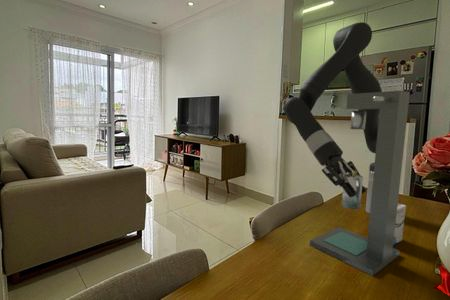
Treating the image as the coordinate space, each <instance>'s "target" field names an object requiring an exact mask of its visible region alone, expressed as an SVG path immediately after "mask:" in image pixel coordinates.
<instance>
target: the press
mask: <svg viewBox="0 0 450 300" xmlns="http://www.w3.org/2000/svg"><path fill="white" fill-rule="evenodd" d="M346 96H347V97H346V107H345V108H346V110H351V116H350V117H351V118H350V130H363V129H365V122H366V111H358V109H380V112H379V116H378V133H377V144H376V154H375V153H374V155H375V156H374V163H375V165H374V176H373V186H372V197H371V208H370V214H369V221H368V231H367V237H366V236H363V235H360V234H358V233H355V232H353V231H351V230H347V229H345V228H342V227H339V226H338V227H336V228H333V229H331V230H330V231H327V232H326V233H323V234H320V235H318V236H317V237H314V238H312V239H310V240H309V245H310V246H311V247H313V248H315V249H318V250H319V251H321V252H324V254H325V253H326V254H328V255H329V256H332V257H333V258H335V259H337V260H339V261H342V262H344V263H346V264H347V265H350V266H351V267H354V268H355V269H357V270H359V271H362V272H364V273H366V274H367V275H369V276H371V277H373V276H375V275H376V274H377V273H379V272H380V271H381V270H382V269H383V268H385V267H386V266H387V265H389V264H390V263H391V262H392V261H394V260H395V259H397V258H398V257H399V256H400V249H397V248H395V247H394V245H393V242H394V233H395V224H396V215H397V205H398V203H399V194H400V188H401V187H400V186H401V178H402V168H403V167H402V166H403V158H404V148H405V139H406V132H407V121H408V115H409V114H408V113H409V103H410V97H411V93H410V91H405V90H392V91H382V92H373V93H358V94H352V93H347V95H346Z"/></svg>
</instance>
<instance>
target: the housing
mask: <svg viewBox="0 0 450 300" xmlns="http://www.w3.org/2000/svg"><path fill="white" fill-rule="evenodd" d="M357 171H358V170H357ZM357 171H351V174H348V173H346V178H347V180H348V183H350V184H351V186H352V187H353V188H354V190H355V191H356V192H357V195H355V196H354V197H351V198H350V197H349V196H348V194H347V193H346V192H345V190H344V189H343V188H342V198H341V206H342V207H343V208H346V209H350V210H360V209H361V202H362V195H363V194H362V185H363V179H364V176H362V175H361V176H359V175H356V174H357Z"/></svg>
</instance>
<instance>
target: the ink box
mask: <svg viewBox="0 0 450 300" xmlns="http://www.w3.org/2000/svg"><path fill="white" fill-rule="evenodd" d="M406 209H407V205H405V204H401V203H399V202H398V205H397V215H396V224H395V233H394V242H393V246H394V245H396V244H397V243H400V242H402V240H403V235H404V234H403V232H404V225H405V217H406Z"/></svg>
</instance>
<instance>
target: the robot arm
mask: <svg viewBox="0 0 450 300" xmlns="http://www.w3.org/2000/svg"><path fill="white" fill-rule="evenodd" d="M372 39H373V29H372V28H371V26H370V25H369V24H368V23H366V22H363V21H362V22H361V21H360V22H355V23H353V24H350V25H347V26H344V27H343V28H340V29H338V31H336V32H335V34H334V36H333V41H332V42H333V49H334V51H335V52H334V53H333V54H332V55H331V56H330V57H329V58H328V59H327V60H326V61H324V63H322V64H321V65H320V66H319V67H318V68H316V70H315V71H313V72H312V73H311V75H309V77H308V79H307V80H306V81H305V82H304V84H303V85H302V86H301V87H300V91H299V96H298V97H297V96H293V97H289V98H287V99H286V101H284V104H283V111H284V114H285V116H286V118H287V119H288V121H289V122H290V123H292V124H293V125H294V126H295V128H296V129H297V132H298V134H299V135H300V137H301V138H302V140H303V141H304V143H305V144H306V145H307V147H308V150H309V151H310V152H311V153H312V154H313V157H315V159H316V161H317V162H318V163H319V165H320V166H322V167H323V168H322V169H321V172H322V173H323V175H325V177H326V178H327V179H328V180H330V182H331V183H332V184H333V185H334V186H336V187H337V186H339V187H341V188H342V190H343V189H344V190H345V192H346V193H347V194H348V196H349V197H350V198H351V197H354V196H355V195H357V192H356V191H355V190H354V188H353V187H352V186H351V184H350V183H348V180H347V178H346V174H351V171H357V174H356V175H359V176H362V175H361V174H360V172H359V170H358V169H357V168H356V166H355V164H354V163H353V161H351V160H349V161H348V162H347V161H346V160H345V159H344V158H343V157H342V155H343V154H344V153H343V150H342V149H341V148H340V146H339V145H338V143H336V141H335V139H333V137H332V136H331V135H330V134H329V133H328V132H327V131H326V130H325V129H324V127H323V126H322V125H321V124H320V122H318V120H317V119H316V118H315V116H314V115H313V113H312V110H313V109H314V106H315V105H316V103H317V101H318V99H319V98H320V97H321V96H322V94H323V93H324V92H325V91H326V90H327V88H329V86H330V85H331V84H332V82H333V81H334V80H335V79H336V78H337V76H338V75H339V74H341V72H342V71H344V73H345V77H346V79H347V82H348V85H349V88H350V90H351V94H358V93H373V92H383V91H382V88H381V84H380V82H379V80H378V79H377V77H376V76H375V75H374V74H373V72H371V71H370V69H368V68H367V66H365V64H364V63H363V61H362V58H361V57H360V56H361V55H360V54H361V53H362V52H363V51H364V50H365V49H366V48H367V47H368V46H369V45H370V43H371V41H372ZM357 111H366V122H365V129H362V130H363V134H364V139H365V144H366V147H367V149H368V151H369V152H370V153H372V154H374V155H375V154H376V144H377V133H378V122H379V112H380V109H357ZM374 165H375V162H371V163H370V164H369V166H368V167H369V168H368V181H367V182H368V183H367V189H366V187H365V185H363V184H362V194H361V195H363V194H365V193H366V200H365V201H366V202H365V212H366V213H367V214H369V215H370V208H371V197H372V186H373V176H374Z"/></svg>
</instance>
